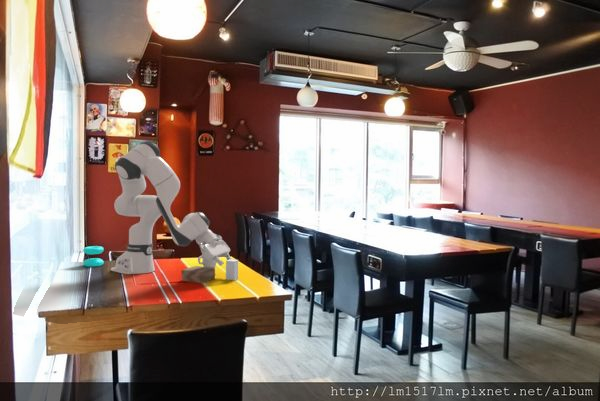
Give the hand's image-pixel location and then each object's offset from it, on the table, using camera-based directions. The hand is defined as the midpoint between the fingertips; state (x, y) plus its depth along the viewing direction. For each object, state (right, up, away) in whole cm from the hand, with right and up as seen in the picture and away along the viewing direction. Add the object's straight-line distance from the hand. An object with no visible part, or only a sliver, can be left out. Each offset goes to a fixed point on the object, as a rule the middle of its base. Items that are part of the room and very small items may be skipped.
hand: (226, 262), depth 220 cm
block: (+3, -8, 0) cm, 8 cm away
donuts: (-76, -5, +26) cm, 80 cm away
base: (-13, -8, -2) cm, 15 cm away
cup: (-14, -6, +26) cm, 30 cm away
